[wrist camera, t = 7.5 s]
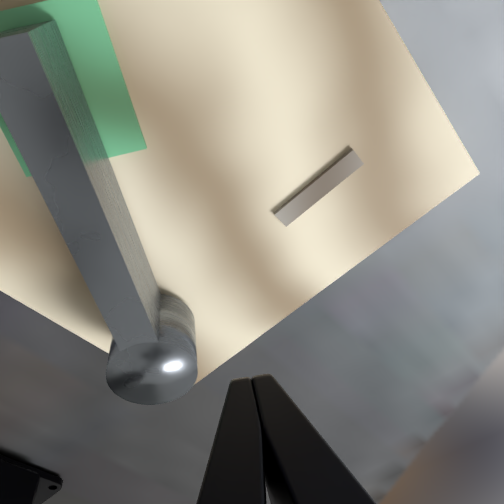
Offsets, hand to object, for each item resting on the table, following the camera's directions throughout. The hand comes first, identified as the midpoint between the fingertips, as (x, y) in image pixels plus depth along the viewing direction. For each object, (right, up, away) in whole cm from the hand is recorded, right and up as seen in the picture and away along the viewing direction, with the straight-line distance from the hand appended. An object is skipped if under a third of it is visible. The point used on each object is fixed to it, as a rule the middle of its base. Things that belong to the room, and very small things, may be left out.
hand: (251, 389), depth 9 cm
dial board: (-3, +6, +9) cm, 11 cm away
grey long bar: (-5, +4, +8) cm, 10 cm away
